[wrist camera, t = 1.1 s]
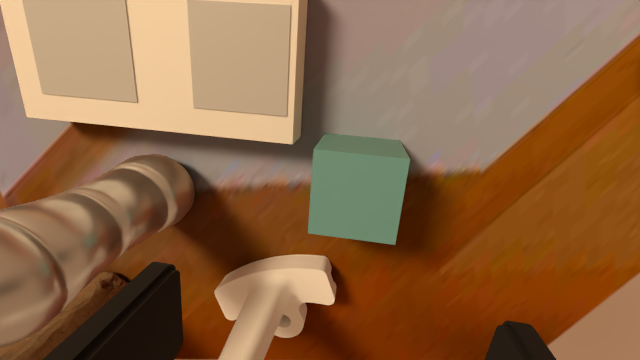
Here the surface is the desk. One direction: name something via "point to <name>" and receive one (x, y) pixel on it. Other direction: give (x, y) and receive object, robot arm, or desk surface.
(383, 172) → the cube
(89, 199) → the plastic bottle
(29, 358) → the block
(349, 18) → the desk surface
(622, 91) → the desk surface
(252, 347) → the joystick
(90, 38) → the board
